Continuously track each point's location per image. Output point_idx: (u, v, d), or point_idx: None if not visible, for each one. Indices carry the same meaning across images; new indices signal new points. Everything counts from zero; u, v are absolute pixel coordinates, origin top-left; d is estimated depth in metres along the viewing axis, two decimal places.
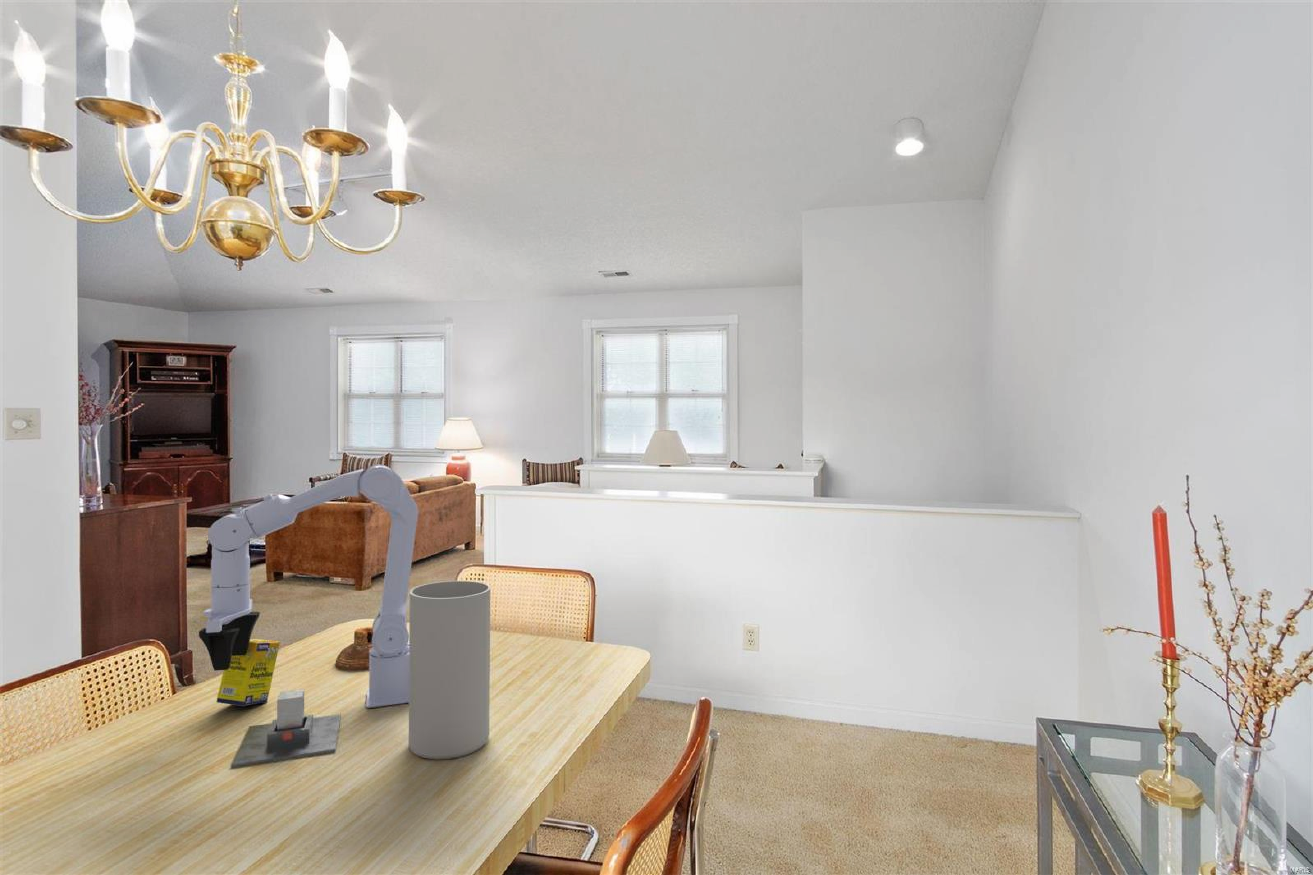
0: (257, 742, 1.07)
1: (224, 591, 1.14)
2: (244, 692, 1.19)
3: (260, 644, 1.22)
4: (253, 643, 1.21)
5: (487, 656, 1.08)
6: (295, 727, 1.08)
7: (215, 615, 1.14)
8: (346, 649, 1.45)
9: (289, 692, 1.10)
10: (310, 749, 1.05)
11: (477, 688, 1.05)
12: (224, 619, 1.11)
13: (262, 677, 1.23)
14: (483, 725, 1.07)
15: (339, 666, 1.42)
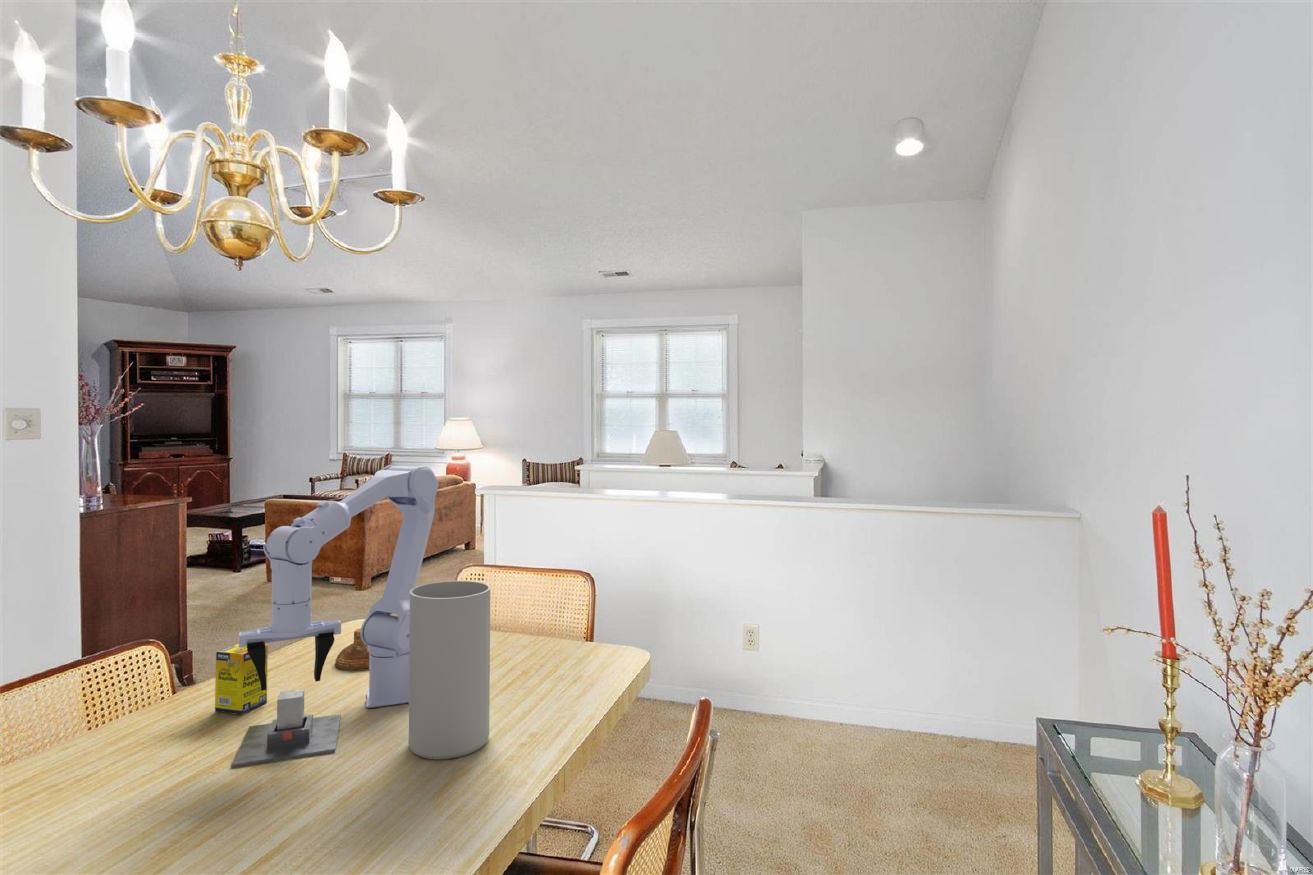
0: (257, 742, 1.07)
1: None
2: (240, 701, 1.18)
3: (246, 654, 1.19)
4: (239, 654, 1.19)
5: (487, 656, 1.08)
6: (295, 727, 1.08)
7: (271, 629, 1.09)
8: (346, 649, 1.45)
9: (289, 692, 1.10)
10: (310, 749, 1.05)
11: (477, 688, 1.05)
12: (250, 636, 1.05)
13: (256, 683, 1.21)
14: (483, 725, 1.07)
15: (339, 666, 1.42)
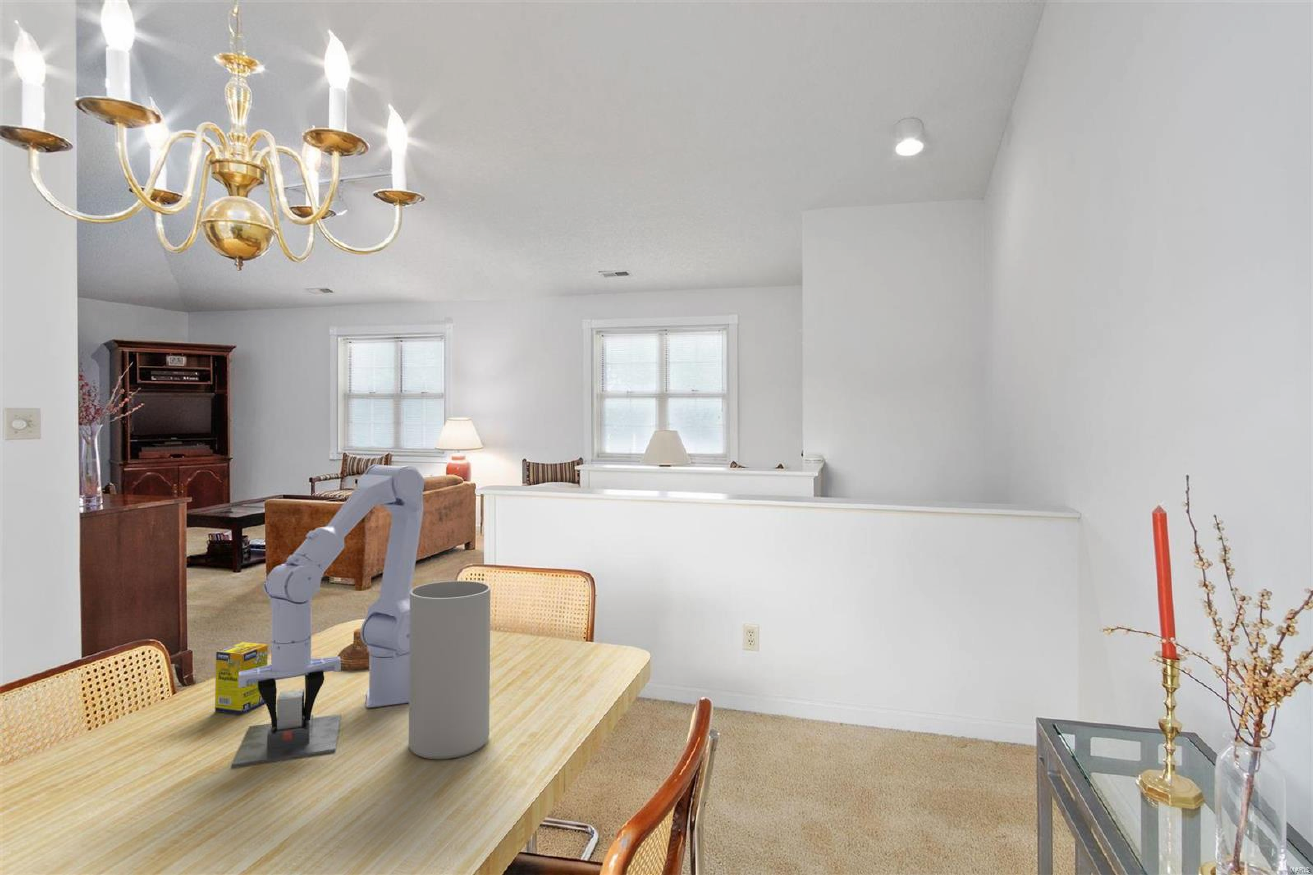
0: (257, 742, 1.07)
1: (271, 645, 1.07)
2: (240, 701, 1.18)
3: (246, 654, 1.19)
4: (239, 654, 1.19)
5: (487, 656, 1.08)
6: (295, 727, 1.08)
7: None
8: (345, 649, 1.45)
9: (289, 692, 1.10)
10: (310, 749, 1.05)
11: (477, 688, 1.05)
12: (250, 675, 1.05)
13: (256, 683, 1.21)
14: (483, 725, 1.07)
15: None
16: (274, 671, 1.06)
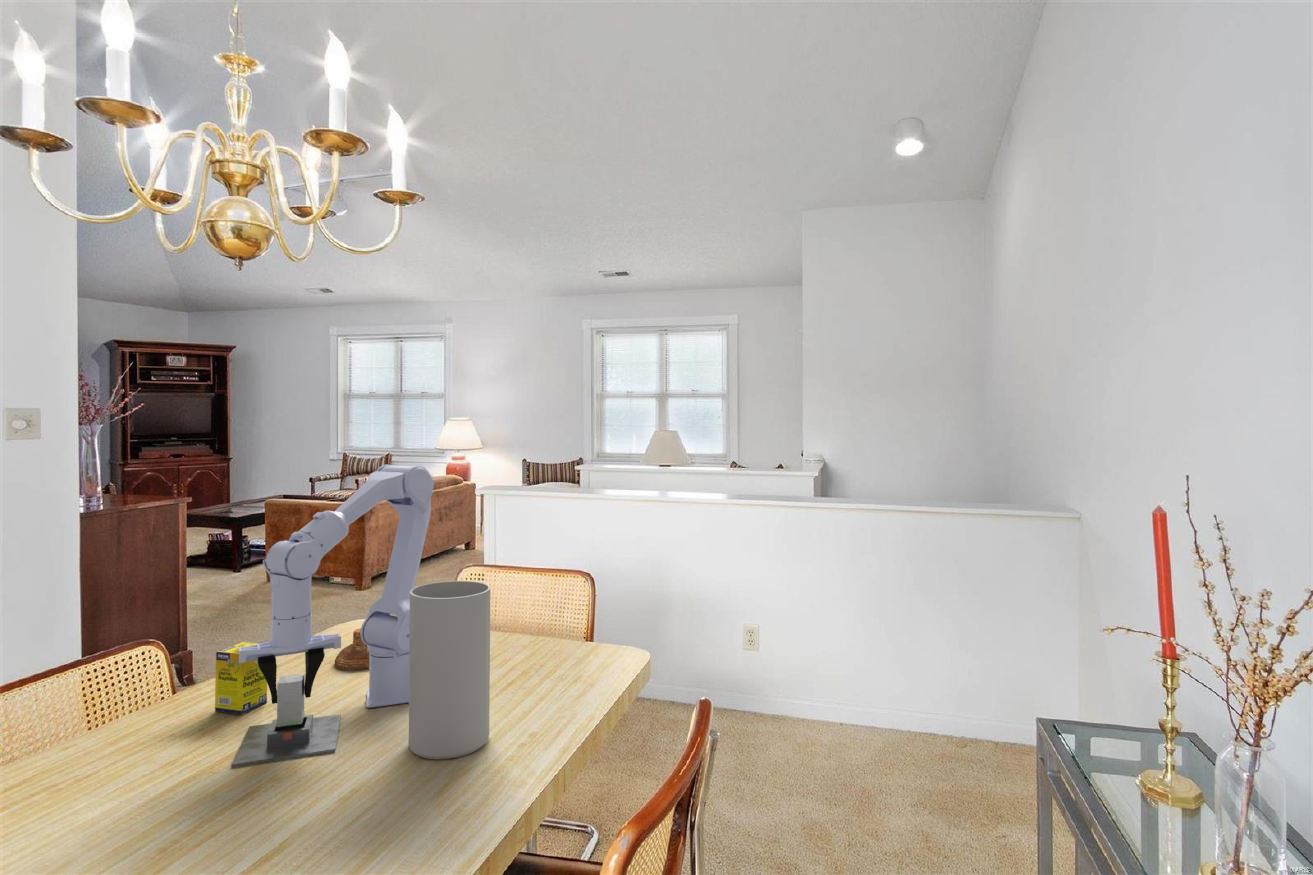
0: (257, 742, 1.07)
1: (271, 621, 1.07)
2: (240, 701, 1.18)
3: None
4: None
5: (487, 656, 1.08)
6: (295, 711, 1.08)
7: (271, 644, 1.09)
8: (345, 649, 1.45)
9: (289, 676, 1.10)
10: (310, 749, 1.05)
11: (477, 688, 1.05)
12: (250, 651, 1.05)
13: (256, 683, 1.21)
14: (483, 725, 1.07)
15: (338, 666, 1.42)
16: (274, 647, 1.06)
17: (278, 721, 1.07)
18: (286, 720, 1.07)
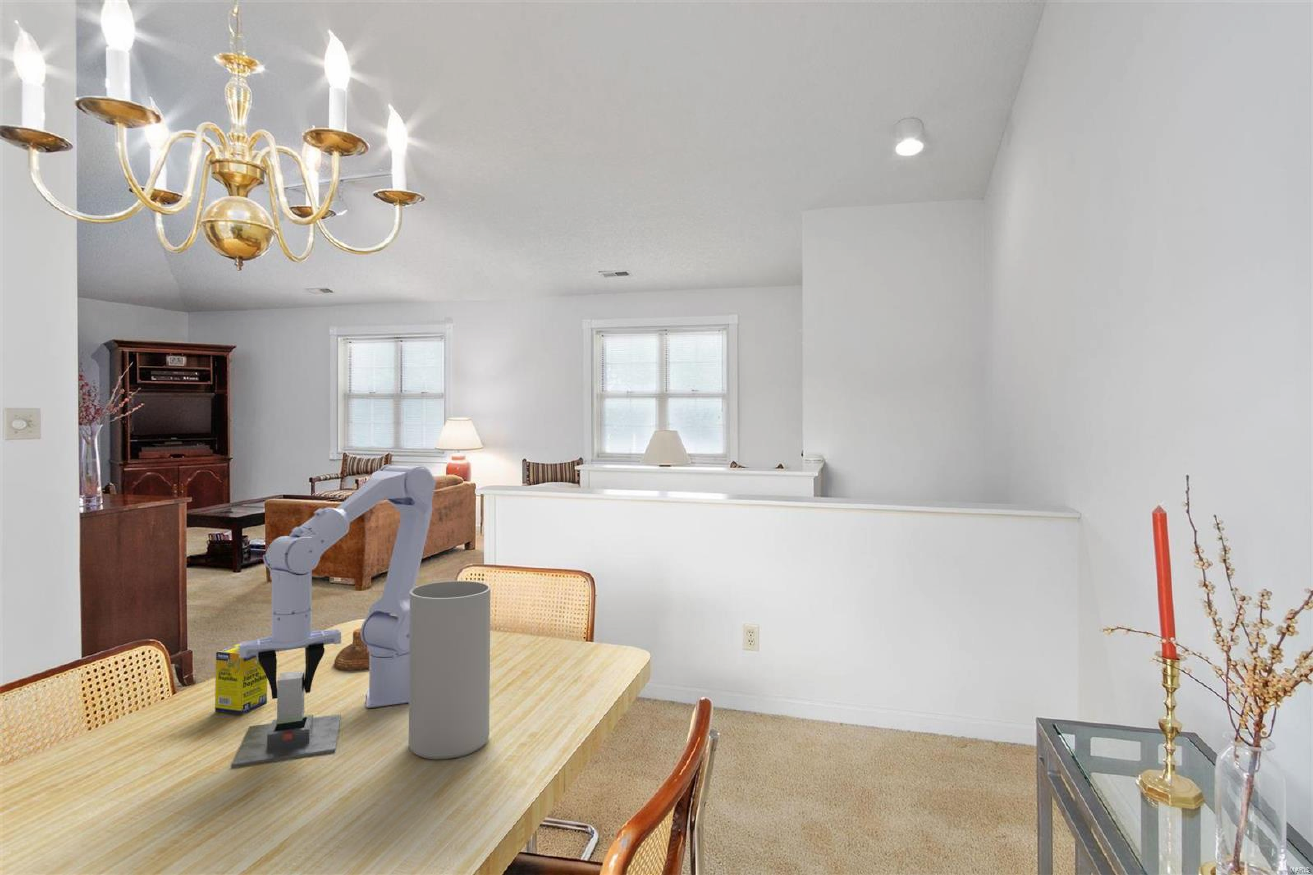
0: (257, 742, 1.07)
1: None
2: (240, 701, 1.18)
3: None
4: None
5: (487, 656, 1.08)
6: (295, 708, 1.08)
7: (271, 639, 1.09)
8: (345, 649, 1.45)
9: (289, 673, 1.10)
10: (310, 749, 1.05)
11: (477, 688, 1.05)
12: (250, 646, 1.05)
13: (256, 683, 1.21)
14: (483, 725, 1.07)
15: (338, 666, 1.42)
16: (274, 642, 1.06)
17: (278, 718, 1.07)
18: (286, 717, 1.07)
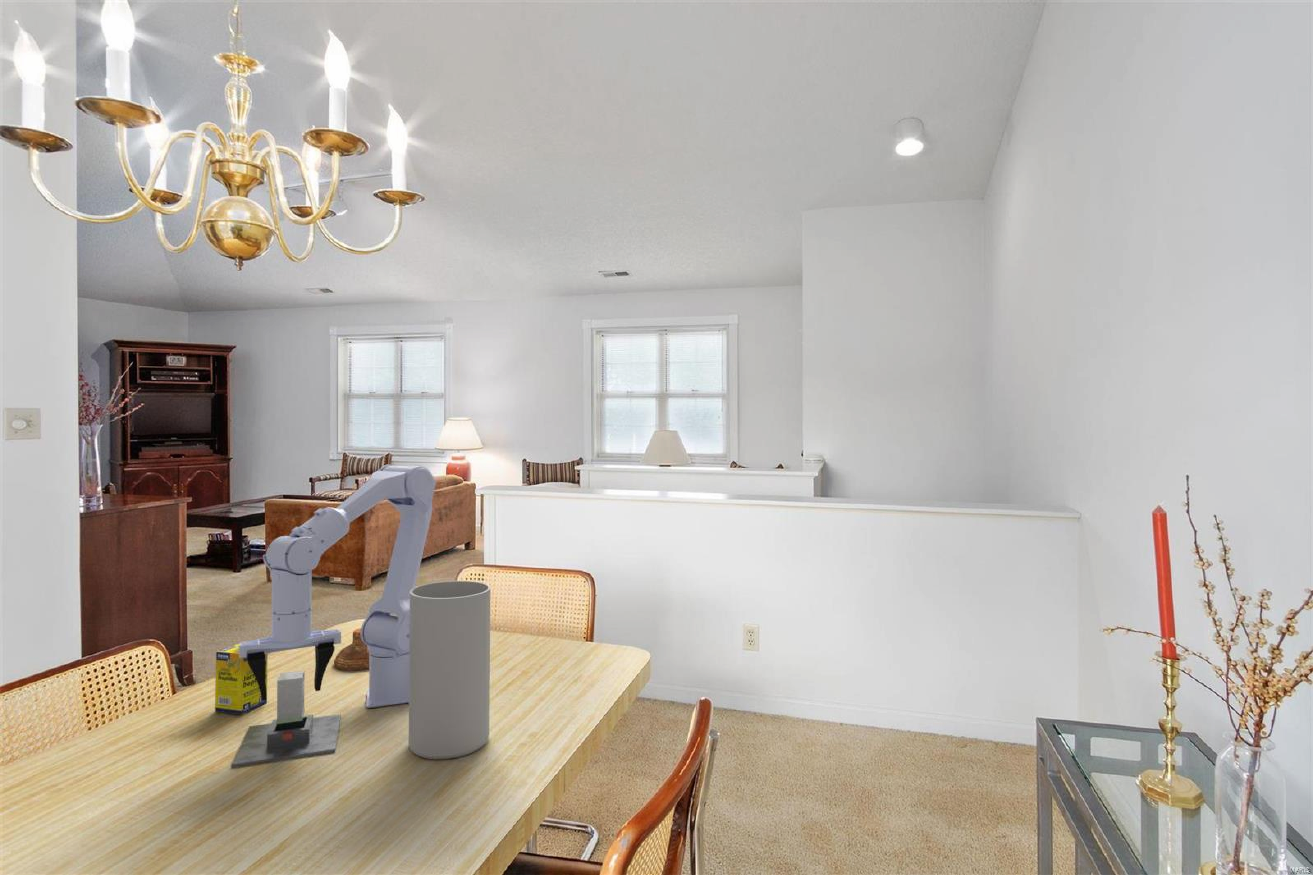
0: (257, 742, 1.07)
1: None
2: (240, 701, 1.18)
3: None
4: None
5: (487, 656, 1.08)
6: (295, 708, 1.08)
7: (271, 639, 1.09)
8: (344, 649, 1.45)
9: (289, 673, 1.10)
10: (310, 749, 1.05)
11: (477, 688, 1.05)
12: (250, 646, 1.05)
13: (256, 683, 1.21)
14: (483, 725, 1.07)
15: (337, 666, 1.42)
16: (274, 642, 1.06)
17: (278, 718, 1.07)
18: (286, 717, 1.07)
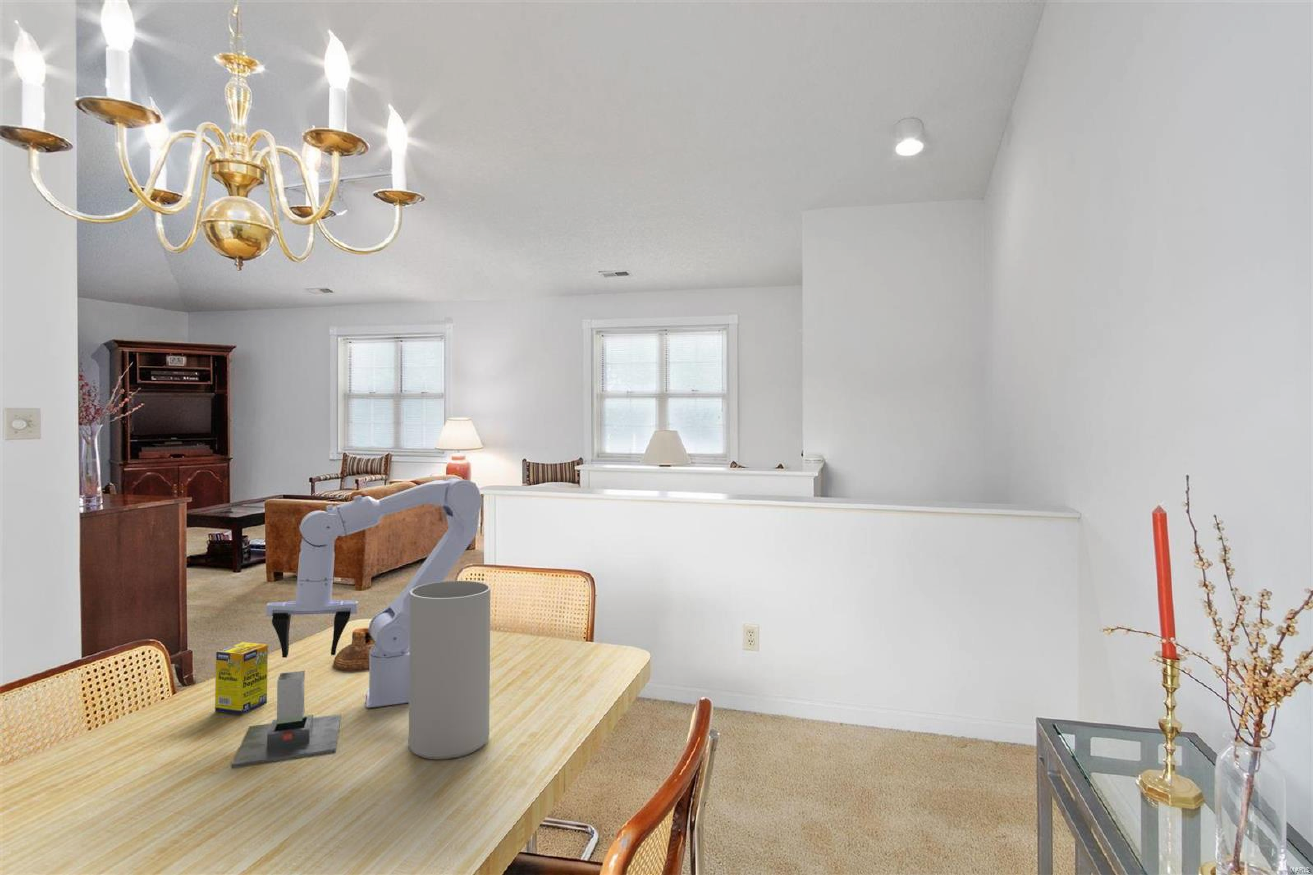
0: (257, 742, 1.07)
1: (297, 582, 1.19)
2: (240, 701, 1.18)
3: (246, 654, 1.19)
4: (239, 654, 1.19)
5: (487, 656, 1.08)
6: (295, 708, 1.08)
7: None
8: (344, 650, 1.44)
9: (289, 673, 1.10)
10: (310, 749, 1.05)
11: (477, 688, 1.05)
12: (275, 606, 1.17)
13: (256, 683, 1.21)
14: (483, 725, 1.07)
15: (337, 667, 1.42)
16: (296, 605, 1.17)
17: (278, 718, 1.07)
18: (286, 717, 1.07)
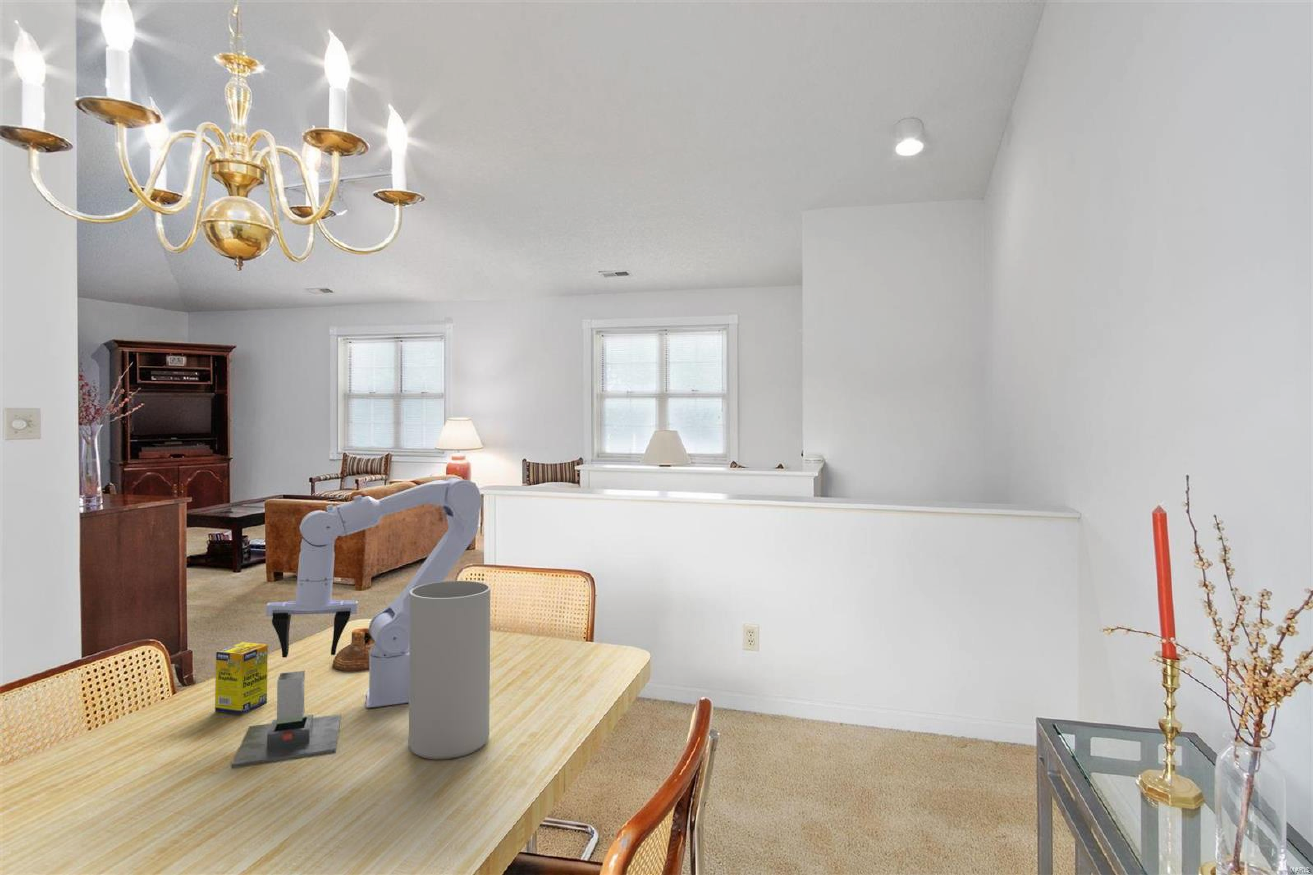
0: (257, 742, 1.07)
1: (297, 582, 1.19)
2: (240, 701, 1.18)
3: (246, 654, 1.19)
4: (239, 654, 1.19)
5: (487, 656, 1.08)
6: (295, 708, 1.08)
7: None
8: (343, 650, 1.44)
9: (289, 673, 1.10)
10: (310, 749, 1.05)
11: (477, 688, 1.05)
12: (275, 606, 1.17)
13: (256, 683, 1.21)
14: (483, 725, 1.07)
15: (336, 667, 1.42)
16: (296, 605, 1.17)
17: (278, 718, 1.07)
18: (286, 717, 1.07)
